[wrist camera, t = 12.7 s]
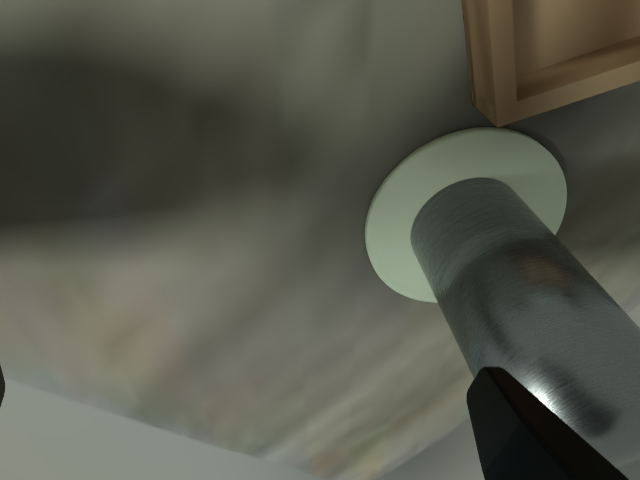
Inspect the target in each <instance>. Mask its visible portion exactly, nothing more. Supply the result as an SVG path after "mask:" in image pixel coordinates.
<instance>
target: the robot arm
mask: <svg viewBox="0 0 640 480" xmlns="http://www.w3.org/2000/svg"><path fill="white" fill-rule="evenodd" d="M4 392H5V380H4V377H3V373H2V369H1V366H0V406H1V403H2V400H3V397H4ZM467 405H468V410H469V414H470V419H471V423H472V427H473V432H474V436H475V441H476V445H477V450H478V454H479V459H480V463H481V467H482V471H483V474H484V478H485V480H629V479H628V478H627V477H626V476H625V475H624V474H623V473H621V472H620V471H619V470H618V469H617V468H616V467H615V466H614V465H612V464H611V463H610V462H609V461H608V460H607V459H606V458H605V457H603V456H602V455H601V454H600V453H599V452H598V451H597V450H595V449H594V448H593V447H592V446H591V445H590V444H589V443H588V442H586V441H585V440H584V439H583V438H582V437H581V436H580V435H579V434H577V433H576V432H575V431H574V430H573V429H572V428H571V427H570V426H568V425H567V424H566V423H565V422H564V421H563V420H562V419H560V418H559V417H558V416H557V415H556V414H555V413H554V412H553V411H551V410H550V409H549V408H548V407H547V406H546V405H545V404H544V403H542V402H541V401H540V400H539V399H538V398H537V397H536V396H534V395H533V394H532V393H531V392H530V391H529V390H528V389H527V388H525V387H524V386H523V385H522V384H521V383H520V382H519V381H518V380H516V379H515V378H514V377H513V376H512V375H511V374H510V373H508V372H507V371H506V370H505V369H503V368H501V367H494V366H484V367H482V368H481V369H480V370H479V372H478V373H477V375H476V377H475V378H474V380H473V382H472V384H471V385H470V387H469V389H468V391H467Z"/></svg>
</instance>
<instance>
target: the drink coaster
mask: <svg viewBox="0 0 640 480" xmlns="http://www.w3.org/2000/svg"><path fill="white" fill-rule="evenodd" d="M477 177H485V178H493V179H496V180H500V181H502V182H504V183H506V184H507V185H509V186H510V187H511V188H512V189H513V190H514V191H515V192H516V193H517V194H518V195H519V196H520V198H521V199H522V200H523V201H524V202H525V203H526V204H527V205H528V206H529V207H530V209H531V210H532V211H533V212H534V213H535V214H536V215H537V216H538V217H539V218H540V219H541V221H542V222H543V223H544V224H545V225H546V226H547V227H548V228H549V229H550V230H551V232H552V233H553V234H554V235H556V233H557V231H558V229H559V227H560V225H561V222H562V220H563V217H564V213H565V208H566V203H567V188H566V181H565V177H564V174H563V171H562V169H561V167H560V165H559V163H558V162H557V160H556V159H555V158H554V157H553V155H552V154H551V153H550V152H549V151H547V150H546V149H545V148H544V147H543V146H542V145H541V144H539V143H538V142H537V141H536V140H534V139H532V138H531V137H529V136H527V135H525V134H523V133H520V132H518V131H515V130H511V129H506V128H500V127H498V128H497V127H475V128H469V129H464V130H459V131H456V132H452V133H449V134H446V135H444V136H441V137H439V138H437V139H434V140H432V141H430V142H428V143H427V144H425V145H423V146H421V147H420V148H418V149H417V150H415V151H414V152H412V153H411V154H410V155H408V156H407V157H406V158H405V159H403V160H402V161H401V162H400V163H399V164H398V165H397V166H396V167H395V168H394V169H393V170H392V171H391V172H390V173H389V174H388V176H387V177H386V178H385V179H384V181H383V182H382V184H381V185H380V186H379V188H378V190H377V191H376V193H375V195H374V197H373V199H372V201H371V204H370V207H369V209H368V212H367V217H366V221H365V233H364V235H365V245H366V248H367V252H368V256H369V258H370V261H371V263H372V266H373V268H374V270H375V271H376V273H377V274H378V276H379V277H380V278H381V280H382V281H383V282H384V283H385V284H386V285H388V286H389V287H390V288H392V289H393V290H394V291H396V292H398V293H400V294H402V295H404V296H406V297H409V298H412V299H415V300H420V301H425V302H434V303H438V302H437V300H436V298H435V296H434V293H433V291H432V289H431V287H430V285H429V283H428V281H427V279H426V277H425V275H424V273H423V270H422V268H421V266H420V264H419V262H418V260H417V258H416V256H415V254H414V252H413V249H412V246H411V239H410V236H411V229H412V225H413V222H414V220H415V217H416V216H417V214H418V212H419V211H420V209H421V208H422V206H423V205H424V204H425V203H426V202H427V201H428V200H429V199H430V198H431V197H432V196H433V195H434V194H436V193H437V192H439V191H440V190H442V189H443V188H445V187H447V186H449V185H451V184H453V183H455V182H458V181H461V180H465V179H469V178H477Z"/></svg>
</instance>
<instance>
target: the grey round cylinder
mask: <svg viewBox="0 0 640 480" xmlns="http://www.w3.org/2000/svg"><path fill="white" fill-rule="evenodd" d="M410 239H411V246H412V249H413V252H414V254H415V256H416V258H417V260H418V262H419V264H420V266H421V268H422V270H423V273H424V275H425V277H426V279H427V281H428V283H429V285H430V287H431V289H432V291H433V293H434V296H435V298H436V300H437V302H438V304H439V306H440V308H441V310H442V312H443V314H444V316H445V318H446V321H447V323H448V325H449V327H450V329H451V331H452V333H453V335H454V337H455V339H456V341H457V344H458V346H459V348H460V350H461V352H462V354H463V356H464V358H465V360H466V362H467V364H468V366H469V369H470V371H471V373H472V375H473V377H474V378H475V377H476V375H477V373H478V372H479V370H480V369H481V368H482V367H484V366H494V367H501V368H503V369H505V370H506V371H507V372H508V373H510V374H511V375H512V376H513V377H514V378H515V379H516V380H518V381H519V382H520V383H521V384H522V385H523V386H524V387H525V388H527V389H528V390H529V391H530V392H531V393H532V394H533V395H534V396H536V397H537V398H538V399H539V400H540V401H541V402H542V403H544V404H545V405H546V406H547V407H548V408H549V409H550V410H551V411H553V412H554V413H555V414H556V415H557V416H558V417H559V418H560V419H562V420H563V421H564V422H565V423H566V424H567V425H568V426H570V427H571V428H572V429H573V430H574V431H575V432H576V433H577V434H579V435H580V436H581V437H582V438H583V439H584V440H585V441H586V442H588V443H589V444H590V445H591V446H592V447H593V448H594V449H595V450H597V451H598V452H599V453H600V454H601V455H602V456H603V457H605V458H606V459H607V460H608V461H609V462H610V463H611V464H612V465H614V466H615V467H616V468H617V469H618V470H619V471H620V472H621V473H623V474H624V475H625V476H626V477H627V478H628V479H629V480H640V328H639V327H638V326H637V325H636V324H635V323H634V322H633V321H632V320H631V319H630V317H629V316H628V315H627V314H626V313H625V312H624V311H623V309H622V308H621V307H620V306H619V305H618V304H617V303H616V302H615V301H614V300H613V299H612V297H611V296H610V295H609V294H608V293H607V292H606V291H605V290H604V289H603V288H602V286H601V285H600V284H599V283H598V282H597V281H596V280H595V279H594V278H593V277H592V275H591V274H590V273H589V272H588V271H587V270H586V269H585V268H584V267H583V266H582V264H581V263H580V262H579V261H578V260H577V259H576V258H575V257H574V256H573V255H572V254H571V252H570V251H569V250H568V249H567V248H566V247H565V246H564V245H563V244H562V243H561V241H560V240H559V239H558V238H557V237H556V236H555V235H554V234H553V233H552V232H551V230H550V229H549V228H548V227H547V226H546V225H545V224H544V223H543V222H542V221H541V219H540V218H539V217H538V216H537V215H536V214H535V213H534V212H533V211H532V210H531V209H530V207H529V206H528V205H527V204H526V203H525V202H524V201H523V200H522V199H521V198H520V196H519V195H518V194H517V193H516V192H515V191H514V190H513V189H512V188H511V187H510V186H509V185H507V184H506V183H504V182H502V181H500V180H496V179H493V178H485V177H477V178H469V179H465V180H461V181H458V182H455V183H453V184H451V185H449V186H447V187H445V188H443V189H442V190H440V191H439V192H437V193H436V194H434V195H433V196H432V197H431V198H430V199H429V200H428V201H427V202H426V203H425V204H424V205H423V206H422V208H421V209H420V211H419V212H418V214H417V216H416V217H415V220H414V222H413V225H412V229H411V236H410Z"/></svg>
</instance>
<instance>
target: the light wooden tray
mask: <svg viewBox="0 0 640 480" xmlns="http://www.w3.org/2000/svg"><path fill="white" fill-rule="evenodd" d="M462 10H463V19H464V29H465V38H466V47H467V57H468V66H469V76H470V85H471V94H472V104H473V105H474V106H475V107H476V108H477V109H478V110H479V111H480V112H481V113H482V114H483V115H484V116H485V117H487V118H488V119H489V120H490V121H491V122H492V123H493V124H494V125H495V126H496V127H497V128H498V127H501V126H504V125H507V124H510V123H513V122H516V121H519V120H522V119H525V118H528V117H531V116H534V115H537V114H540V113H544V112H547V111H550V110H553V109H556V108H559V107H562V106H565V105H568V104H571V103H574V102H577V101H580V100H583V99H586V98H589V97H592V96H595V95H598V94H601V93H604V92H607V91H610V90H613V89H616V88H619V87H622V86H625V85H628V84H631V83H634V82H637V81H640V0H462Z"/></svg>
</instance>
